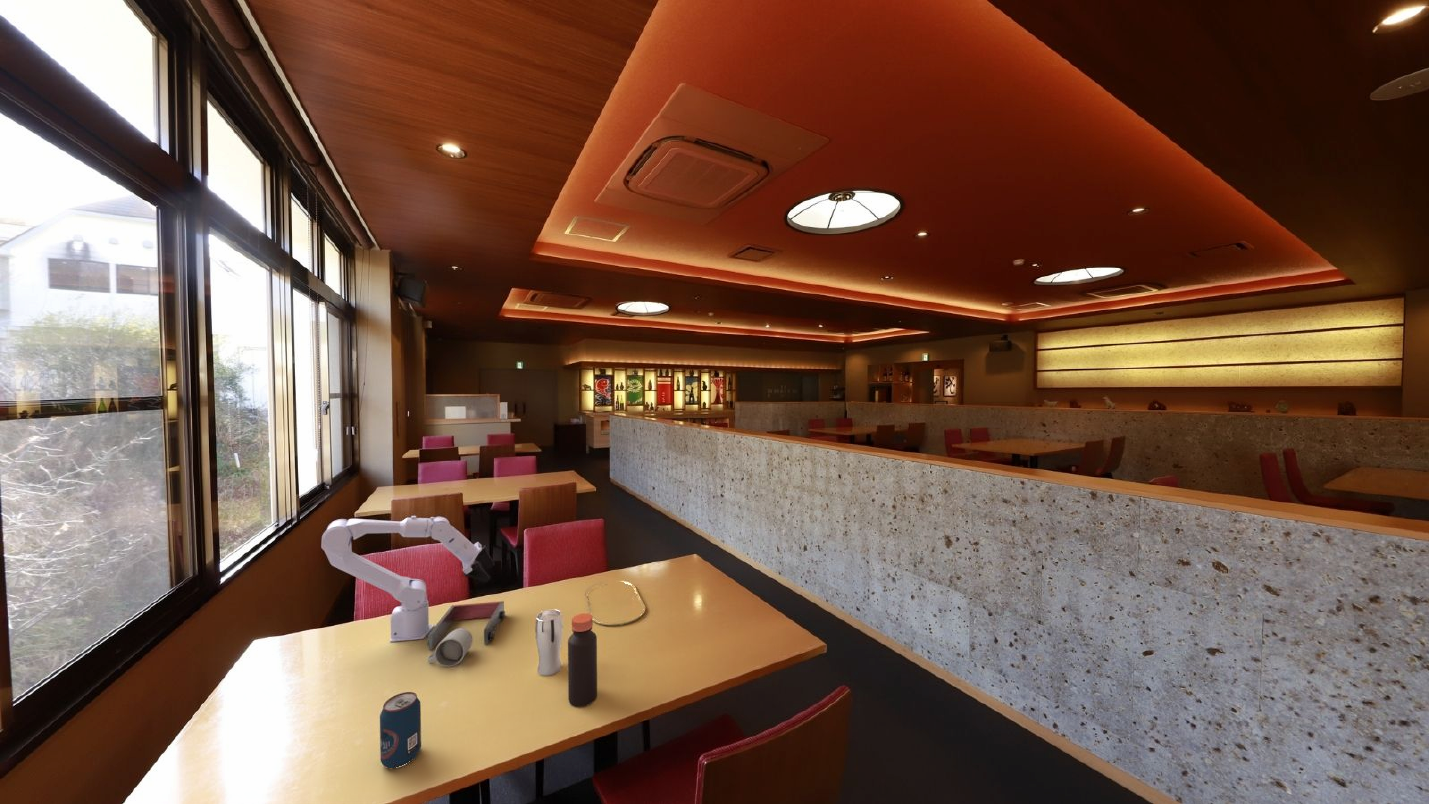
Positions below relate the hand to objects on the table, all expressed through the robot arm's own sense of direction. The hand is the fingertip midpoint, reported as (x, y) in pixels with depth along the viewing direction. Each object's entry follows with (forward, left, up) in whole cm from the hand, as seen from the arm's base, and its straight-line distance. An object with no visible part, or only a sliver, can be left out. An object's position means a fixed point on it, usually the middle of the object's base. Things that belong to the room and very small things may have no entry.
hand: (490, 573), depth 155 cm
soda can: (-1, -61, -15) cm, 63 cm away
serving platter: (+40, +2, -15) cm, 43 cm away
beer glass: (+24, -35, -15) cm, 45 cm away
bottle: (+34, -49, -15) cm, 62 cm away
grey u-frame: (-4, -10, -14) cm, 18 cm away
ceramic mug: (-4, -25, -15) cm, 29 cm away
